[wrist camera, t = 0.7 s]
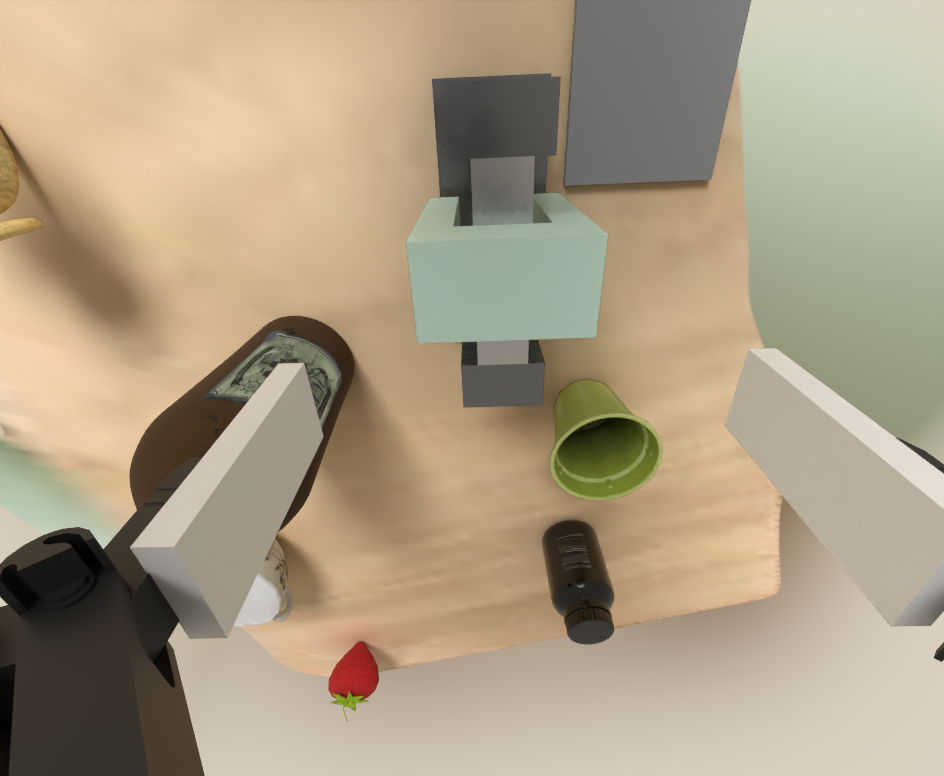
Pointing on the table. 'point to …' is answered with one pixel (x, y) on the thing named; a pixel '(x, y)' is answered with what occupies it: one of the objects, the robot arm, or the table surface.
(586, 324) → the mint green u-shaped block
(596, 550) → the supplement bottle
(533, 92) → the stand
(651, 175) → the gray rectangular panel
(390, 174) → the table surface
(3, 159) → the wall sconce
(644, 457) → the plant pot
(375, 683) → the strawberry
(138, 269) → the table surface
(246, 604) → the teacup
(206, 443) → the olive oil
